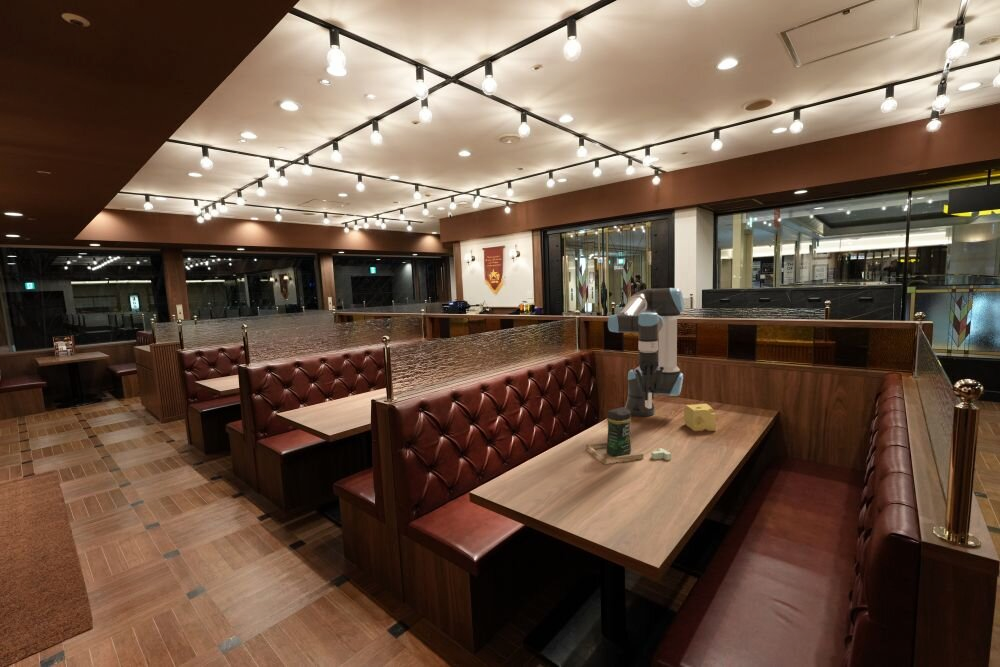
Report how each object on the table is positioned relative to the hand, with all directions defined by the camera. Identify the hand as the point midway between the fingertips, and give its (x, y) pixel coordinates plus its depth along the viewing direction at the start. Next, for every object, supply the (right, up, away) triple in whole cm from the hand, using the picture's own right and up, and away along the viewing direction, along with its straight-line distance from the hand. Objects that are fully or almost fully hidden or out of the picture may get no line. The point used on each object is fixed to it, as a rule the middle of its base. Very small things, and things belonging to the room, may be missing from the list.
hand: (648, 407), depth 177 cm
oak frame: (-15, -19, -2) cm, 24 cm away
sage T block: (+2, -19, -7) cm, 20 cm away
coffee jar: (-12, -19, -1) cm, 22 cm away
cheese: (+32, -14, +25) cm, 43 cm away
